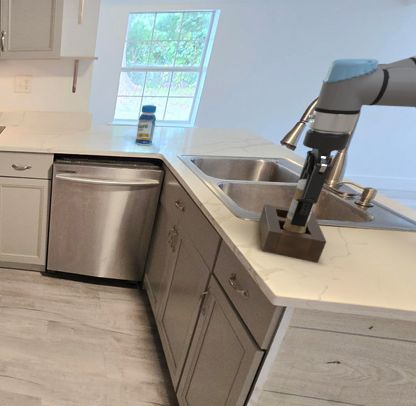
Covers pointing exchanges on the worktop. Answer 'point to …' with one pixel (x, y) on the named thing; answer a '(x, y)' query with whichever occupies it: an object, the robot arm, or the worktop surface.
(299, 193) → the sprinkles bottle
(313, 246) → the spice stand
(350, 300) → the worktop surface
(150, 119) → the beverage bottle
